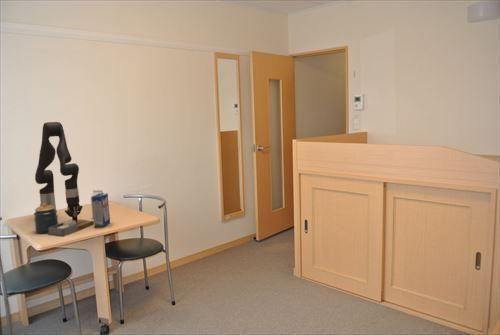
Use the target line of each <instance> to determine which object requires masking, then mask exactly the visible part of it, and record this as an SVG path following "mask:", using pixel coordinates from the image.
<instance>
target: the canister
mask: <svg viewBox="0 0 500 335" xmlns="http://www.w3.org/2000/svg"><path fill="white" fill-rule="evenodd" d="M57 212H58V210H57V209H56V210H55V207H54V206H52V205H47V204H46V203H43V204H42V206H40V205H39V206H37V207H36V208H35V209H34V213H33V215H34V224H35V225H34V226H35V228H34V229H35V232H36V233H37V234H48V227H51V226H54V225H57V224H59V221H58V220H59V219H58V215H57Z"/></svg>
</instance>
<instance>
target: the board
mask: <svg viewBox="0 0 500 335" xmlns="http://www.w3.org/2000/svg"><path fill="white" fill-rule="evenodd" d="M76 224H77V230H78V231H81V230H83V229H87V228H89V227H91V226H94V220H87V219H78V221H77V222H76ZM78 231H77V232H78Z"/></svg>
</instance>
